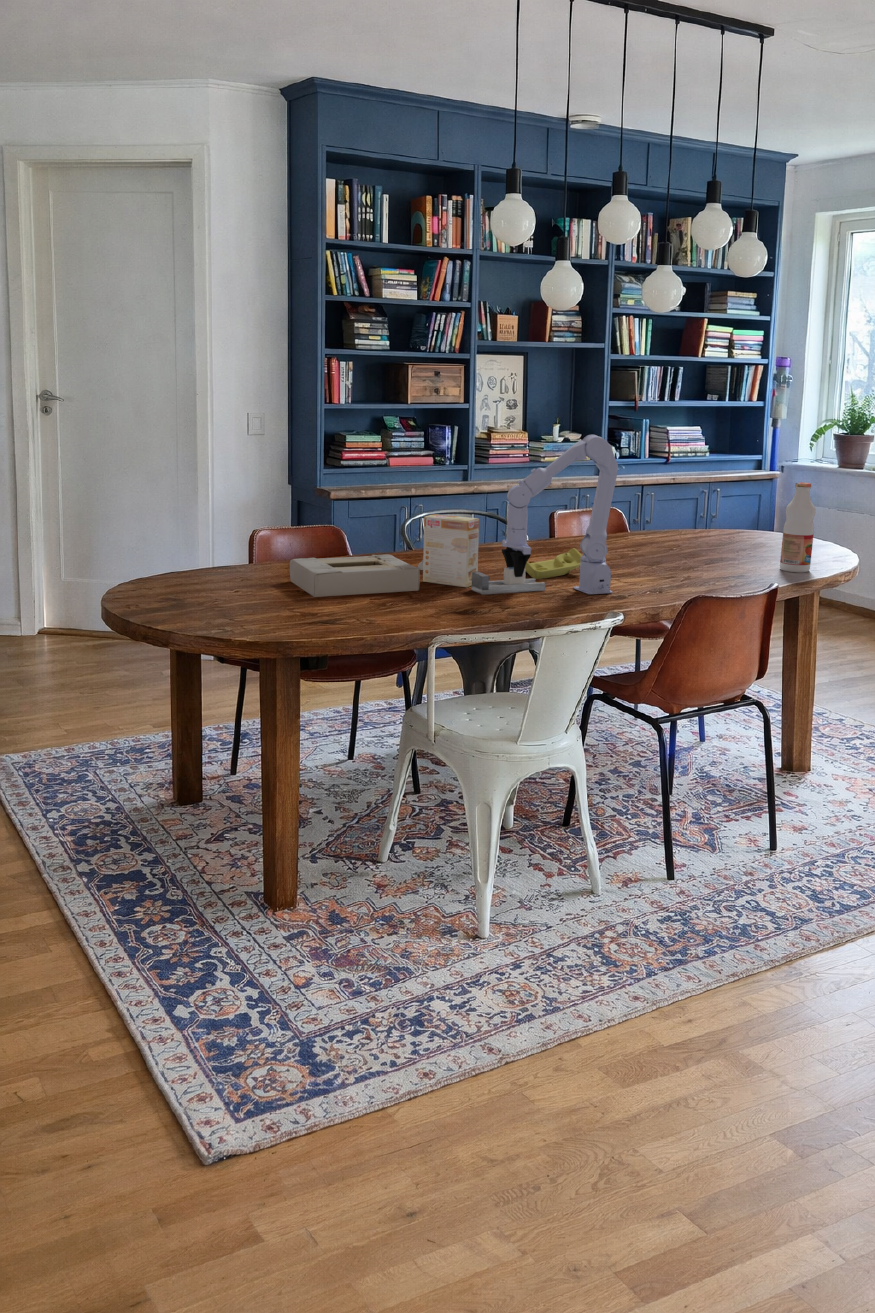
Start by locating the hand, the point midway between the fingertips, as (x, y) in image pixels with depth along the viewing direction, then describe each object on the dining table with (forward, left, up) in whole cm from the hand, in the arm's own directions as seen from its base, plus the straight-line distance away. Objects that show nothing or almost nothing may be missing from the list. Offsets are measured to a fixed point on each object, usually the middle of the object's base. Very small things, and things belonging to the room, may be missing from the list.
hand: (515, 575), depth 338 cm
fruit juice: (+2, -102, -4) cm, 102 cm away
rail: (0, +2, -4) cm, 5 cm away
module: (0, 0, -2) cm, 3 cm away
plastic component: (+18, -22, -5) cm, 29 cm away
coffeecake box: (+14, +14, -4) cm, 21 cm away
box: (+18, +42, -5) cm, 46 cm away
